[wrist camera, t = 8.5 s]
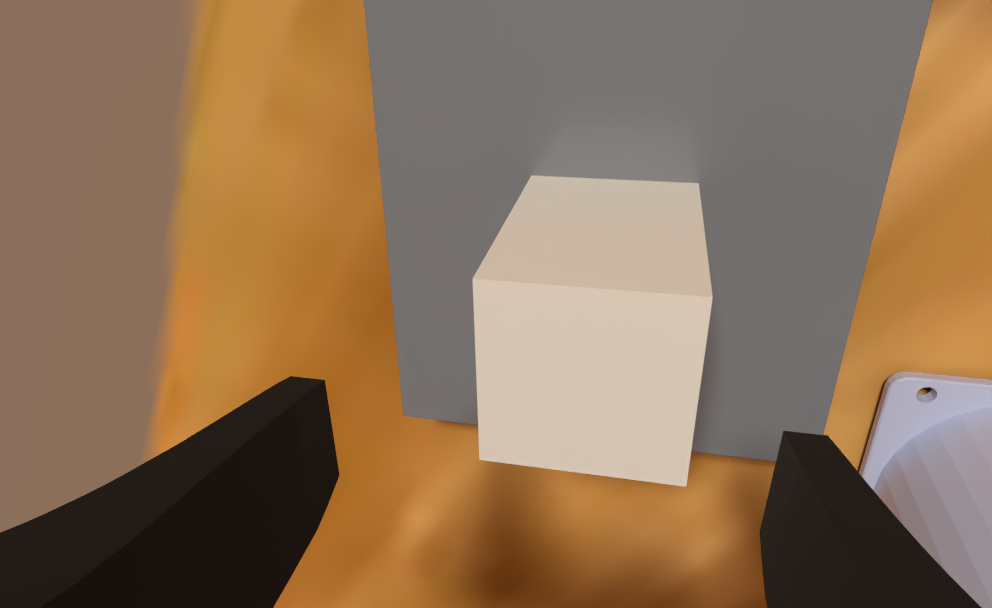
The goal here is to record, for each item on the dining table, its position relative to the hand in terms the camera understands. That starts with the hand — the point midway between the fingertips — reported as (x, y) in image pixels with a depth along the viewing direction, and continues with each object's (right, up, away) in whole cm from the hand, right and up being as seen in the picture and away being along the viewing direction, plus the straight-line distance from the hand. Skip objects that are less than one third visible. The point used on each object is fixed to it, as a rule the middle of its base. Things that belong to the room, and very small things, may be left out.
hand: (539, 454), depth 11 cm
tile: (+3, +5, +9) cm, 10 cm away
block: (+2, +4, +7) cm, 8 cm away
